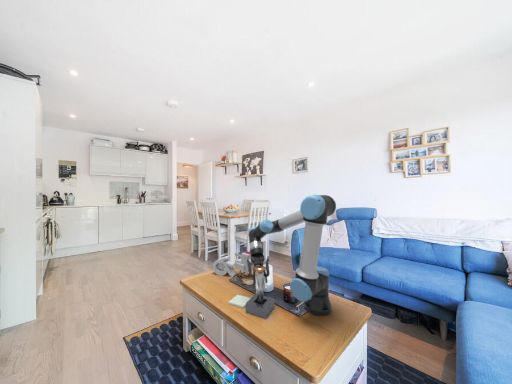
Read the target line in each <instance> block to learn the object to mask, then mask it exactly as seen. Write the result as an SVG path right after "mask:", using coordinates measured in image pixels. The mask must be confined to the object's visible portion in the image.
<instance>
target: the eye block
mask: <svg viewBox="0 0 512 384" xmlns="http://www.w3.org/2000/svg"><path fill="white" fill-rule="evenodd" d="M250 298H251V299H250V300H249V301H248V302H247V303H246V306H245V313H246V314H249V315H253V316H255V317H259V318H262V319H264V320H266V319H267V318H268V317H269V315H270V314H271V313H272V311H273V310H274V308H275V298H273V297H269V296H266V295H263V301H262V302H257V301H256V293H254V295H252V297H250Z"/></svg>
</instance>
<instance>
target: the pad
mask: <svg viewBox="0 0 512 384" xmlns="http://www.w3.org/2000/svg"><path fill="white" fill-rule="evenodd" d="M251 298H252V297H248V296H244V295H241V294H240V295H239V294H236V295H235V296H234V297H233V298H231V299H230V300H229V301H228V302H227V303H228V305H230V306H234V307H238V308H241V309H244V308H246V303H247V302H248V301H249V300H250V299H251Z"/></svg>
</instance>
